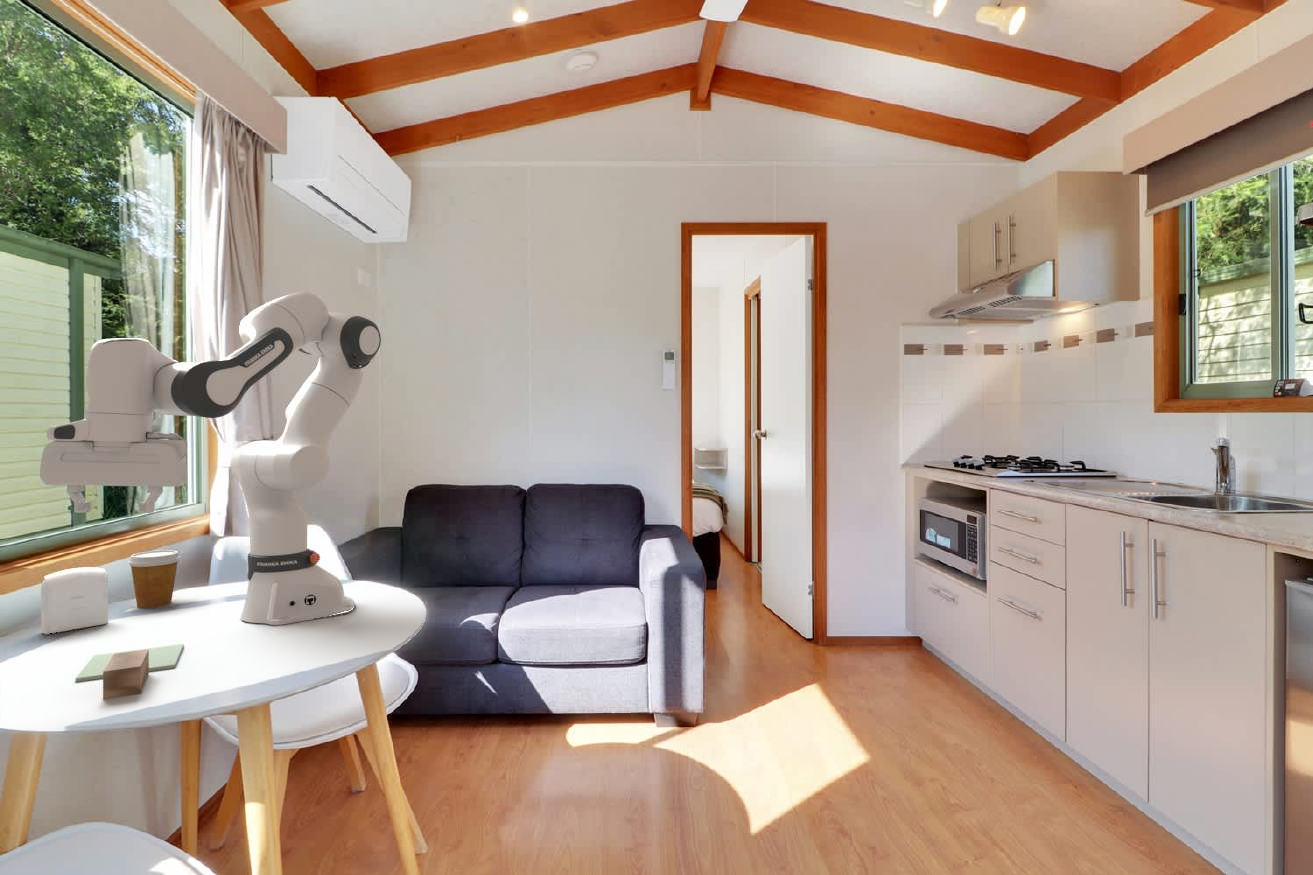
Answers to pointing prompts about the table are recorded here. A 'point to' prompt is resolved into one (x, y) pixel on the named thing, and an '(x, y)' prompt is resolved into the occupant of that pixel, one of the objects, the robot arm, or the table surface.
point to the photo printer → (74, 599)
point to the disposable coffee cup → (154, 577)
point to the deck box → (126, 674)
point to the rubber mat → (157, 656)
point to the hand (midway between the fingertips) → (114, 512)
